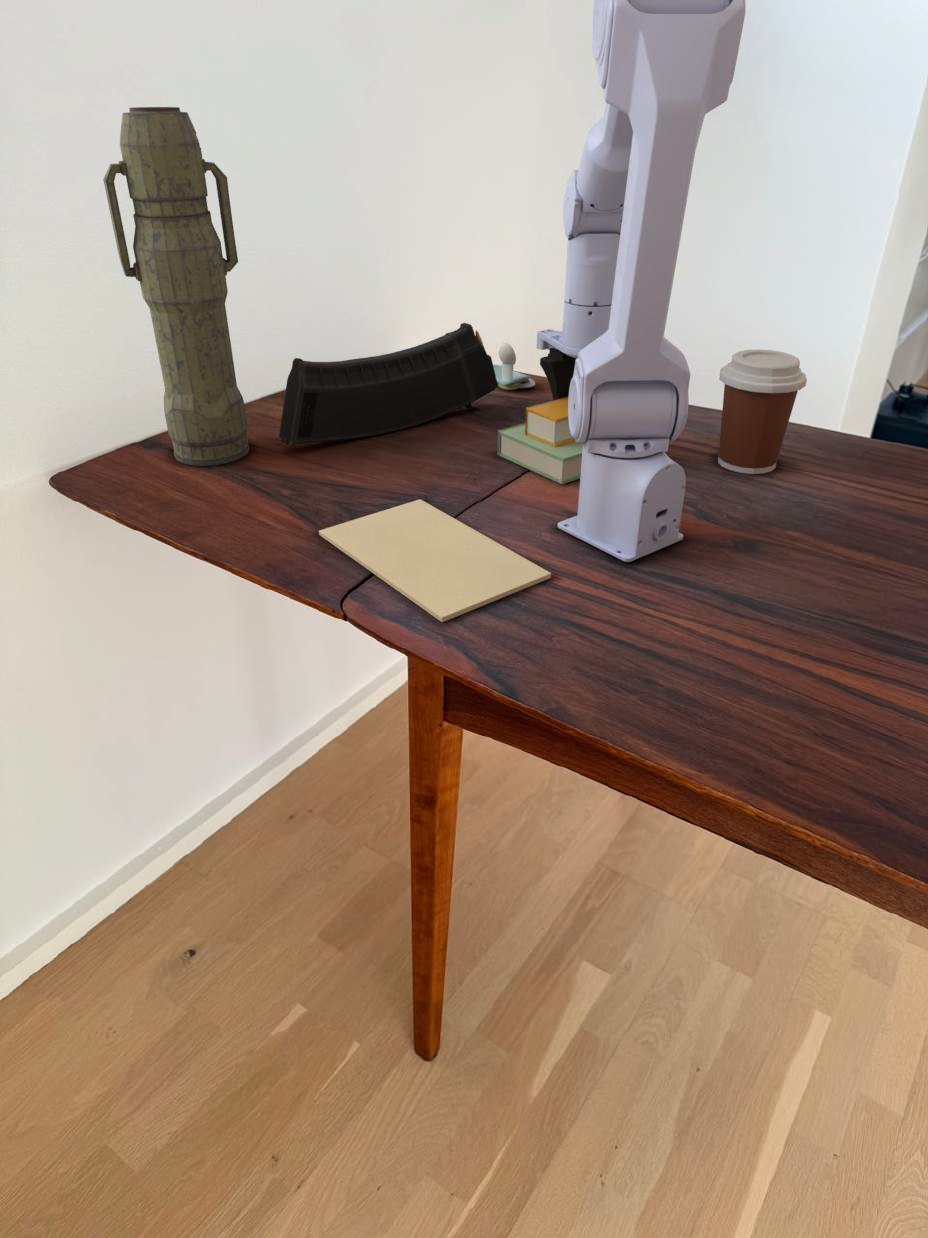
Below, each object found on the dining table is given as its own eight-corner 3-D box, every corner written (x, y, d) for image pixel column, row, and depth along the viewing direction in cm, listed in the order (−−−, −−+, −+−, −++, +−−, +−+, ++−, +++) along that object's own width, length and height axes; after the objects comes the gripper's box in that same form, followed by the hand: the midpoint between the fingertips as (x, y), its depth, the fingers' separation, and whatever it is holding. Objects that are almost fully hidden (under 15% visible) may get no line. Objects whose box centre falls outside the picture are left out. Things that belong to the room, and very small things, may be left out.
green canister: (273, 454, 100) (228, 107, 81) (171, 474, 95) (98, 109, 76) (250, 432, 106) (204, 105, 88) (153, 448, 101) (83, 107, 83)
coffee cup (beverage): (689, 461, 98) (705, 356, 92) (735, 442, 103) (753, 342, 97) (758, 485, 92) (780, 374, 86) (803, 464, 97) (827, 358, 91)
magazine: (262, 383, 93) (473, 270, 103) (250, 376, 96) (457, 266, 105) (317, 508, 105) (502, 396, 114) (305, 499, 107) (487, 390, 116)
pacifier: (511, 377, 127) (480, 383, 123) (513, 334, 123) (481, 339, 120) (544, 388, 122) (513, 395, 119) (548, 344, 119) (515, 349, 115)
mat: (551, 577, 75) (551, 573, 75) (442, 622, 69) (441, 617, 68) (420, 503, 88) (420, 498, 88) (319, 535, 82) (318, 530, 82)
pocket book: (604, 411, 104) (607, 385, 102) (635, 422, 100) (638, 396, 99) (524, 434, 97) (525, 407, 95) (555, 447, 94) (556, 419, 92)
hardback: (593, 426, 108) (595, 403, 106) (660, 451, 101) (663, 426, 99) (496, 454, 100) (497, 430, 98) (562, 484, 92) (563, 458, 91)
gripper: (668, 307, 88) (652, 433, 95) (570, 285, 98) (563, 401, 105) (620, 317, 85) (608, 447, 92) (524, 293, 94) (520, 412, 102)
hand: (581, 423), depth 98 cm, fingers closed on pocket book, 5 cm apart
